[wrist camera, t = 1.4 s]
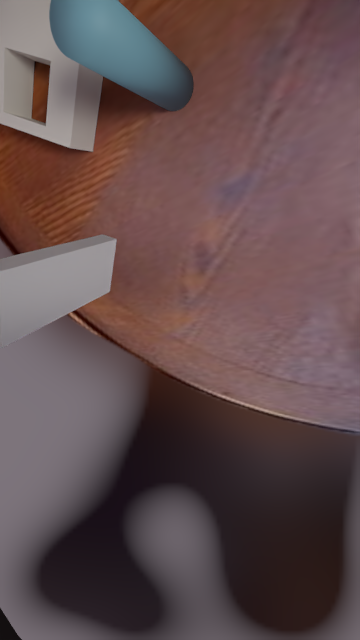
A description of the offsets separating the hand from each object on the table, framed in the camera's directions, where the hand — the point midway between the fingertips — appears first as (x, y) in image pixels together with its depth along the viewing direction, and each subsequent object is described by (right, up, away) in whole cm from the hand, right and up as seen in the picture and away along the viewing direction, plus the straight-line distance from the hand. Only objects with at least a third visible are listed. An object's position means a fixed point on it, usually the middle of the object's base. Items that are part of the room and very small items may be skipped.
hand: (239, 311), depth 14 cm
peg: (-3, +22, +17) cm, 29 cm away
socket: (-16, +28, +20) cm, 38 cm away
